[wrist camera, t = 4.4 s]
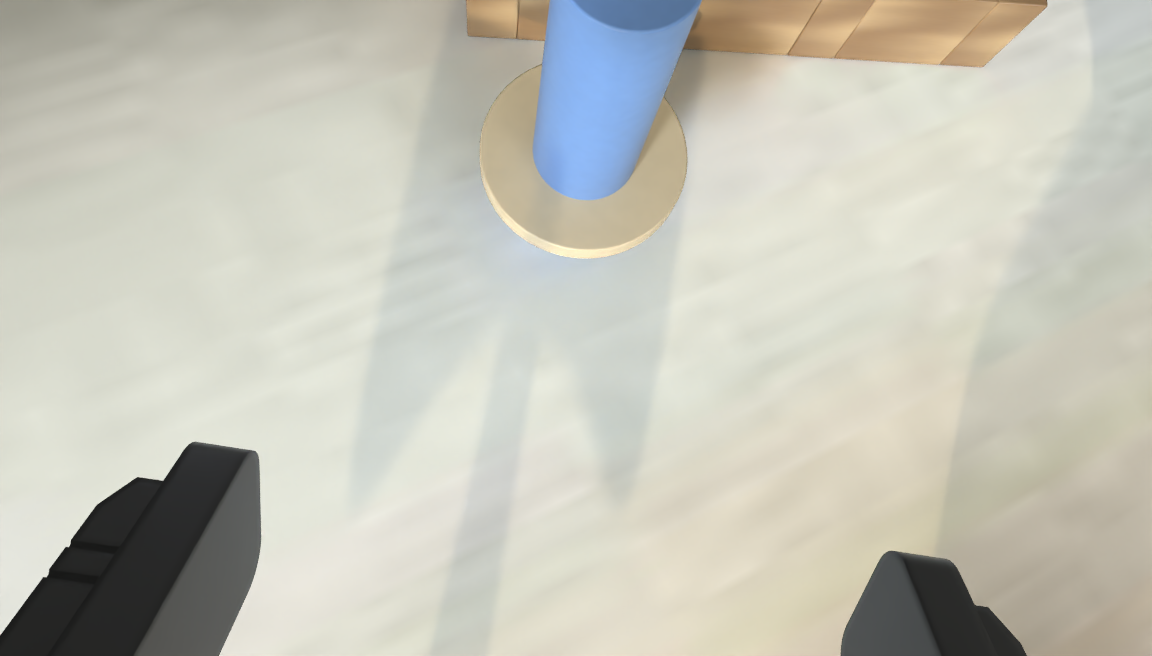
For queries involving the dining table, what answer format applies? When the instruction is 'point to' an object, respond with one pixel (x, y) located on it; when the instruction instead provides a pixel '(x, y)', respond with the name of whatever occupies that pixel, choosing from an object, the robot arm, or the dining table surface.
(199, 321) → the dining table surface
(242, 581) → the robot arm
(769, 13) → the rack
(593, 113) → the peg
